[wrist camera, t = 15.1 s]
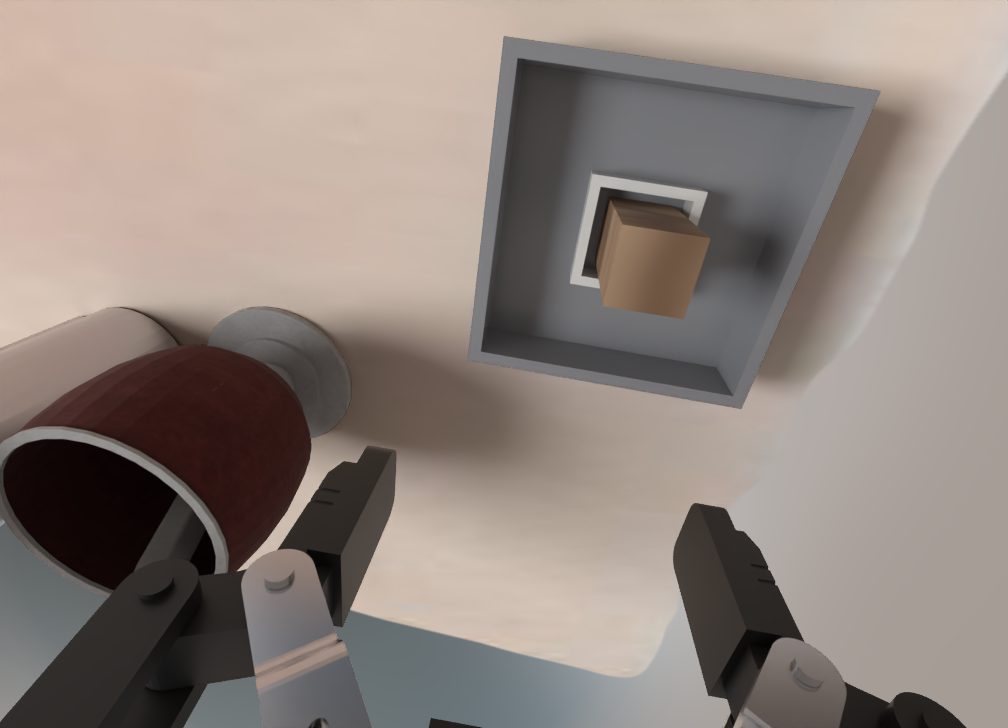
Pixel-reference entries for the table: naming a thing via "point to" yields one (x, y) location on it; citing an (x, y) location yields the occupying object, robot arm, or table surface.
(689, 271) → the brown block
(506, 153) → the grey square tray
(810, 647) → the robot arm
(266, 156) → the table surface
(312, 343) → the mate gourd
